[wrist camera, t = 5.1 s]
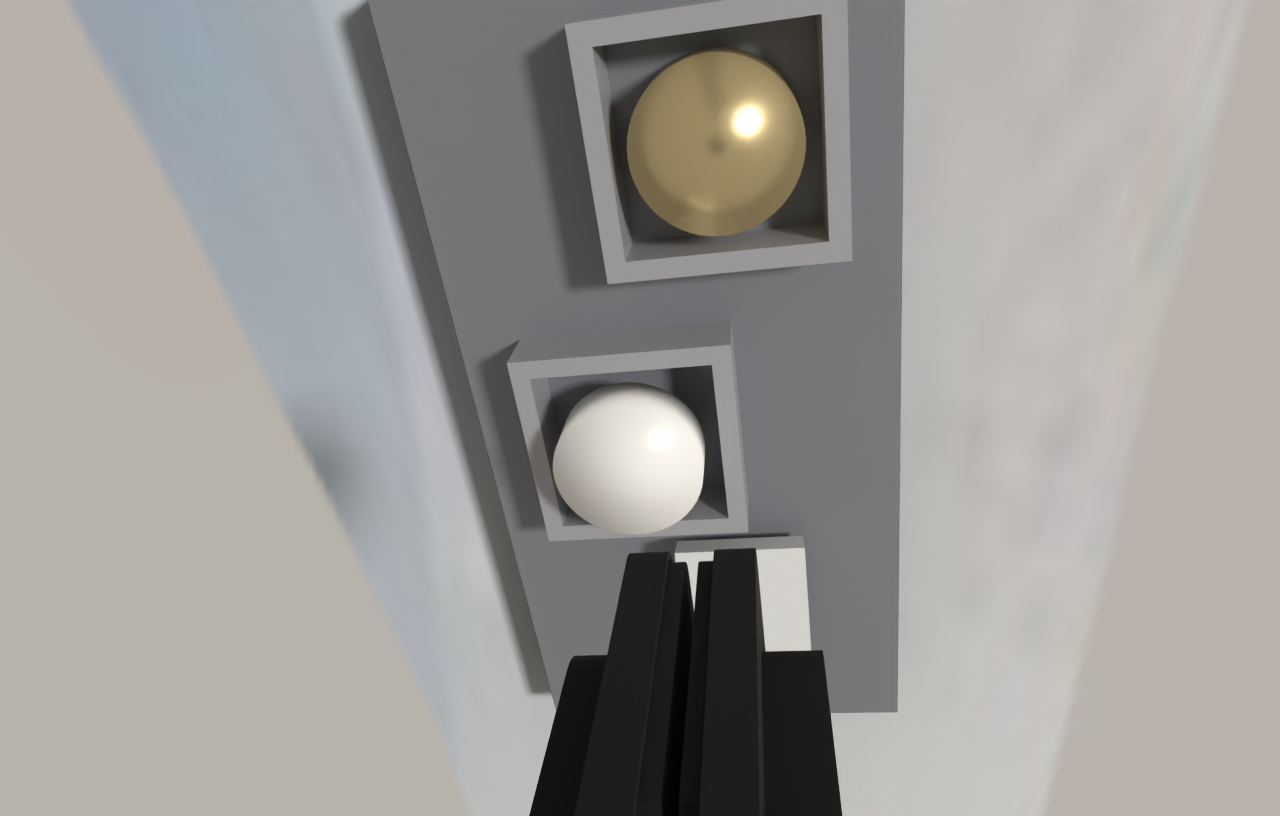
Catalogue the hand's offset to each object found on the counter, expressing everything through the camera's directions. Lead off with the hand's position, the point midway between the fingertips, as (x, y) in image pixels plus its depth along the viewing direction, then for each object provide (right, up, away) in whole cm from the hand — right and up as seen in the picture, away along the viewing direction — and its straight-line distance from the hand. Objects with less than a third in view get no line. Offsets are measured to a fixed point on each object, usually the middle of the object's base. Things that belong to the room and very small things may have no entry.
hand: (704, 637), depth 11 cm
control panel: (+1, +4, +18) cm, 19 cm away
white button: (-1, +2, +15) cm, 16 cm away
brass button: (+1, +10, +12) cm, 16 cm away
